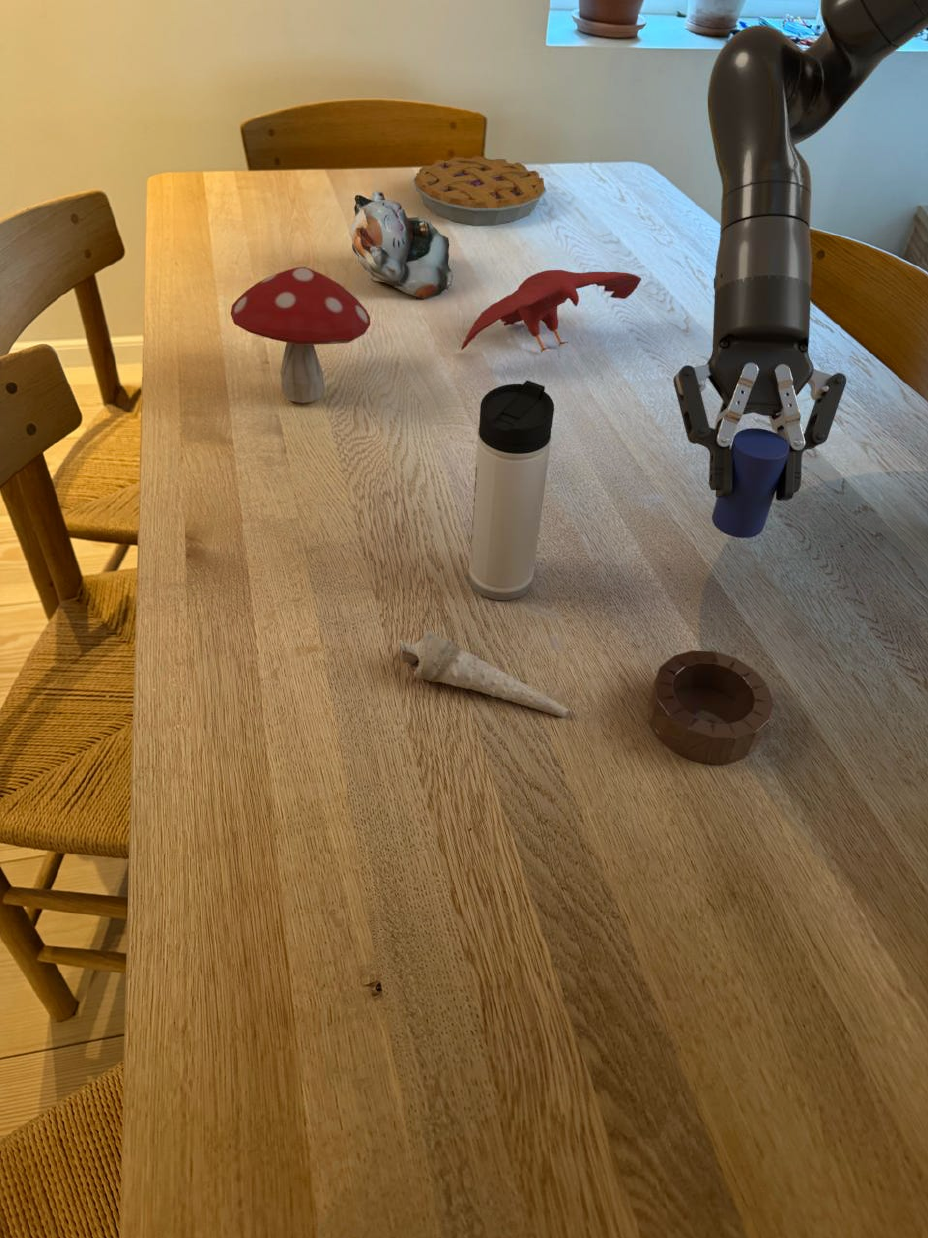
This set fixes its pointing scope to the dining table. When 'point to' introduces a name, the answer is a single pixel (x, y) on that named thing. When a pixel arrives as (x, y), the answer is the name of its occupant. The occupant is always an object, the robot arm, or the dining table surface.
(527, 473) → the travel mug
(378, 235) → the lucky cat figurine
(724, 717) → the holder
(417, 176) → the pie
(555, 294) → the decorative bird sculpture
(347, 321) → the decorative mushroom
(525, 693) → the seashell
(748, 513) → the blue cylinder
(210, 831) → the dining table surface
